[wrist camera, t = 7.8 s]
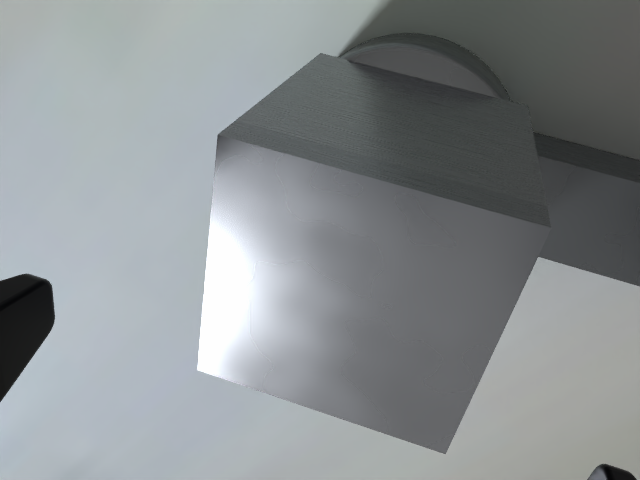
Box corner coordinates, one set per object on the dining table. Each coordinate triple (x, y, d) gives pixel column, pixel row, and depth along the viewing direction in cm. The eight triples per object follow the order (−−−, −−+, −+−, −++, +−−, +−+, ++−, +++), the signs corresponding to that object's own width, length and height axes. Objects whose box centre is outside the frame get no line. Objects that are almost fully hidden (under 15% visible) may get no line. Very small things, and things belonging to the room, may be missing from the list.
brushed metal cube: (528, 105, 14) (551, 227, 9) (460, 278, 17) (445, 454, 12) (320, 53, 15) (217, 134, 9) (289, 227, 18) (197, 369, 12)
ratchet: (287, 207, 21) (214, 310, 15) (322, 8, 17) (243, 51, 12) (859, 377, 18) (1016, 573, 13) (1046, 188, 15) (1377, 350, 9)
